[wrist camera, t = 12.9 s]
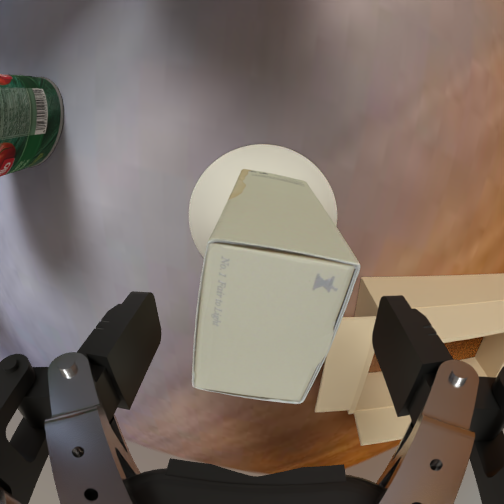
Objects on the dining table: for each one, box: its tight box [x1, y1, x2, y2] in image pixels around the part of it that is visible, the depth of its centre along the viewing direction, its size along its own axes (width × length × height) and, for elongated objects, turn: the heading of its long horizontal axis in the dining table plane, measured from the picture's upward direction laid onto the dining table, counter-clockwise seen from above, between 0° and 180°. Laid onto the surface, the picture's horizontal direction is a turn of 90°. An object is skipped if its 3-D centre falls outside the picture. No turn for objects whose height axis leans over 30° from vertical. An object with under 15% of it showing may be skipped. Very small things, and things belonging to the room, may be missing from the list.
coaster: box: [189, 144, 337, 258], centre depth 20 cm, size 10×10×1 cm
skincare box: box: [192, 169, 361, 404], centre depth 14 cm, size 6×4×12 cm
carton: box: [315, 274, 504, 445], centre depth 20 cm, size 23×11×8 cm, turn 91°
